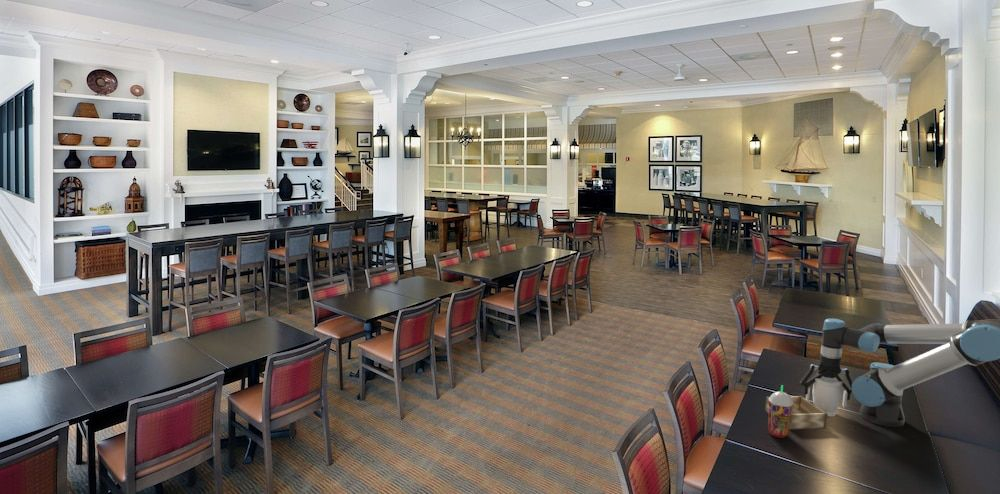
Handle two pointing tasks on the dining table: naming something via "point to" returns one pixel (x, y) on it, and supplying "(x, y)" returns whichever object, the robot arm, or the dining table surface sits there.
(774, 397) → the smoothie
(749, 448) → the dining table surface
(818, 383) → the jar
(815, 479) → the dining table surface
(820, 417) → the crate
